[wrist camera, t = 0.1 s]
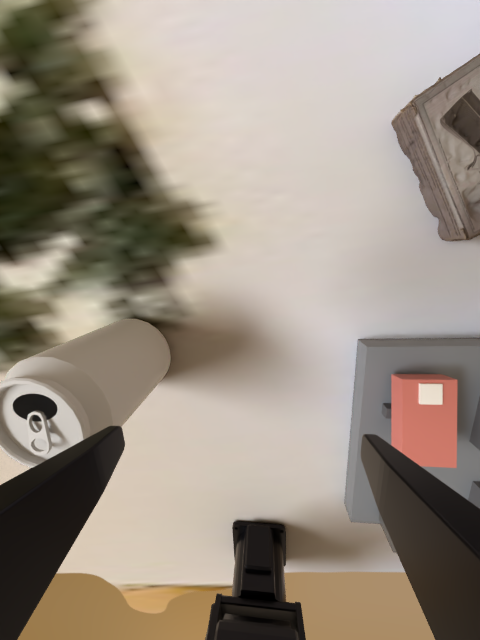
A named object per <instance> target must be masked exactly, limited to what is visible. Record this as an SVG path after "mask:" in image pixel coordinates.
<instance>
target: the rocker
mask: <svg viewBox="0 0 480 640" xmlns="http://www.w3.org/2000/svg"><path fill="white" fill-rule="evenodd" d="M457 382H458V380H457V379H454V378H451V377H448V376H445V375H442V374H391V445H392V446H393V447H395V448H396V449H397V450H399V451H400V452H402V453H403V454H404V455H406V456H407V457H408V458H410V459H411V460H413V461H414V462H415V463H417V464H418V465H420V466H424V467H447V468H457Z"/></svg>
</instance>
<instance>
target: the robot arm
mask: <svg viewBox="0 0 480 640" xmlns="http://www.w3.org/2000/svg"><path fill="white" fill-rule="evenodd" d="M124 447H125V441H124V436H123V431H122V428H121V426H108V427H106V428H104V429H103V430H101V431H99V432H97V433H95V434H93V435H92V436H90V437H88V438H86V439H84V440H82V441H81V442H79V443H77V444H75V445H73V446H71V447H70V448H68V449H66V450H64V451H62V452H60V453H59V454H57V455H55V456H53V457H51V458H49V459H47V460H46V461H44V462H42V463H40V464H38V465H36V466H35V467H33V468H31V469H29V470H27V471H25V472H24V473H22V474H20V475H18V476H16V477H14V478H13V479H11V480H9V481H7V482H5V483H3V484H2V485H0V640H17V639H18V637H19V636H20V634H21V632H22V630H23V629H24V627H25V625H26V624H27V622H28V620H29V618H30V617H31V615H32V613H33V611H34V610H35V608H36V607H37V605H38V603H39V601H40V600H41V598H42V596H43V594H44V593H45V591H46V589H47V588H48V586H49V584H50V583H51V581H52V579H53V578H54V576H55V574H56V572H57V571H58V569H59V567H60V566H61V564H62V562H63V560H64V559H65V557H66V555H67V554H68V552H69V550H70V549H71V547H72V545H73V543H74V542H75V540H76V538H77V537H78V535H79V533H80V531H81V530H82V528H83V526H84V525H85V523H86V521H87V519H88V518H89V516H90V514H91V513H92V511H93V509H94V508H95V506H96V504H97V502H98V501H99V499H100V497H101V495H102V494H103V492H104V490H105V488H106V486H107V484H108V482H109V480H110V478H111V476H112V473H113V471H114V469H115V467H116V465H117V463H118V461H119V459H120V457H121V455H122V453H123V450H124ZM361 460H362V463H363V466H364V469H365V472H366V475H367V478H368V481H369V484H370V487H371V490H372V493H373V496H374V499H375V502H376V505H377V508H378V510H379V513H380V515H381V518H382V520H383V522H384V524H385V527H386V529H387V531H388V533H389V536H390V538H391V540H392V542H393V545H394V547H395V549H396V552H397V554H398V556H399V558H400V561H401V563H402V565H403V567H404V570H405V572H406V574H407V576H408V579H409V581H410V583H411V585H412V588H413V590H414V592H415V594H416V597H417V599H418V601H419V603H420V606H421V608H422V610H423V613H424V615H425V617H426V619H427V621H428V624H429V626H430V628H431V630H432V633H433V635H434V637H435V640H480V508H478V507H477V506H475V505H474V504H473V503H471V502H470V501H469V500H467V499H466V498H464V497H463V496H462V495H460V494H459V493H457V492H456V491H455V490H453V489H452V488H450V487H449V486H448V485H446V484H445V483H443V482H442V481H441V480H439V479H438V478H436V477H435V476H434V475H432V474H431V473H429V472H428V471H427V470H425V469H424V468H422V467H421V466H420V465H418V464H417V463H415V462H414V461H413V460H411V459H410V458H408V457H407V456H406V455H404V454H403V453H402V452H400V451H399V450H397V449H396V448H395V447H393V446H392V445H390V444H389V443H388V442H386V441H385V440H383V439H382V438H381V437H379V436H378V435H376V434H364V435H363V436H362V443H361ZM233 542H234V556H235V568H234V578H233V589H232V596H224V595H222V594H217V596H216V601H215V603H214V604H212V606H211V614H210V620H209V625H208V630H207V634H206V638H205V640H306V638H305V632H304V624H303V617H302V610H301V603H300V602H295V603H289V602H286V595H285V580H284V566H285V565H286V529H285V526H283V525H277V524H263V523H249V522H234V523H233Z"/></svg>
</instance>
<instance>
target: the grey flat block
mask: <svg viewBox="0 0 480 640" xmlns="http://www.w3.org/2000/svg"><path fill="white" fill-rule="evenodd" d="M392 126H393V128H394V130H395V131H396V133H397V138H398V142H399V144H400V147H401V149H402V151H403V152H404V154H405V155H406V156H407V157H408V158H409V159H410V161H411V163H412V166H413V171H414V173H415V175H416V176H417V177H418V178H419V181H420V184H419V188H420V191H421V193H422V195H423V198H424V200H425V203H426V206H427V208H428V209H429V211H430V212H431V213H432V215H433V216H434V217H437V218H438V219H439V226H438V234H439V236H440V237H441V238H442V240H445V241H454V240H455V241H457V240H469V239H472V238H474V237H477V236H478V235H480V54H478V55H477V56H476V57H474V58H472V59H471V60H470V61H468V62H467V63H465V64H464V65H462V66H461V67H459V68H458V69H456V70H455V71H453V72H452V73H450V74H449V75H447V76H445V77H444V78H443V79H441V78H439V79H438V81H437V82H436V83H435V84H434V85H433V86H431V87H429V88H428V89H426V90H424V91H423V92H422V93H421V94H419V95H415V96H414V98H413V99H412V100H411V101H410V102H409V103H408V104H407V105H406V106H405V107H404V108H403V109H402V110H401V111H400V112H399V113H398V114H397V115H396V116H395V118H394V119H393V120H392Z"/></svg>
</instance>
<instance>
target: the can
mask: <svg viewBox="0 0 480 640" xmlns="http://www.w3.org/2000/svg"><path fill="white" fill-rule="evenodd" d="M170 362H171V356H170V348H169V346H168V344H167V341H166V339H165V338H164V336H163V335H162V334H161V333H160V331H159V330H158V329H156V328H155V327H153V326H152V325H151V324H149V323H147V322H144V321H142V320H139V319H123V320H120V321H117V322H114V323H112V324H109V325H107V326H104V327H102V328H100V329H97V330H95V331H92V332H90V333H87V334H85V335H83V336H80V337H78V338H75V339H73V340H70V341H68V342H66V343H63V344H61V345H58V346H56V347H54V348H51V349H49V350H46V351H44V352H41V353H39V354H37V355H34V356H32V357H29V358H27V359H24V360H22V361H20V362H18V363H17V364H16V365H15V366H14V367H13V368H11V369H10V370H9V371H8V373H7V375H6V377H5V379H4V381H1V382H0V448H1V449H2V450H3V451H4V452H5V453H6V454H7V455H8V456H9V457H11V458H12V459H14V460H15V461H17V462H19V463H20V464H22V465H24V466H27V467H30V468H33V467H35V466H36V465H38V464H40V463H42V462H44V461H46V460H47V459H49V458H51V457H53V456H55V455H57V454H59V453H60V452H62V451H64V450H66V449H68V448H70V447H71V446H73V445H75V444H77V443H79V442H81V441H82V440H84V439H86V438H88V437H90V436H92V435H93V434H95V433H97V432H99V431H101V430H103V429H104V428H106V427H108V426H121V427H122V425H123V424H124V423H125V422H126V421H127V420H128V418H129V417H130V416H131V415H132V414H133V413H134V411H135V410H136V409H137V408H138V407H139V406H140V404H141V403H142V402H143V401H144V400H145V399H146V397H147V396H148V395H149V394H150V393H151V391H152V390H153V389H154V388H155V387H156V386H157V384H158V383H159V382H160V381H161V380H162V379H163V377H164V376H165V374H166V373H167V372H168V370H169V366H170Z"/></svg>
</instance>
